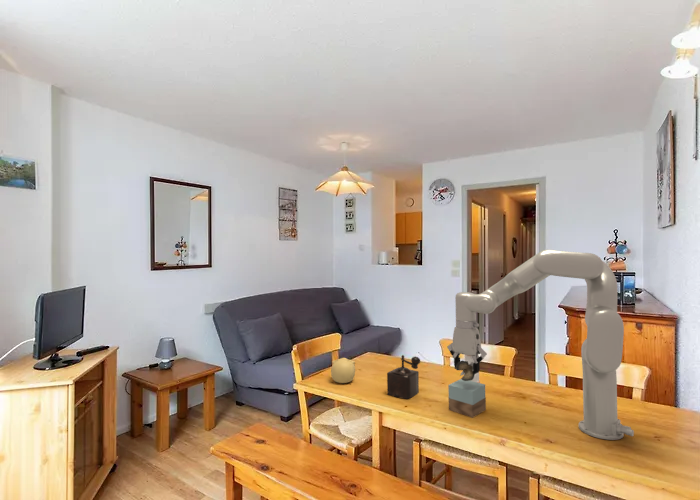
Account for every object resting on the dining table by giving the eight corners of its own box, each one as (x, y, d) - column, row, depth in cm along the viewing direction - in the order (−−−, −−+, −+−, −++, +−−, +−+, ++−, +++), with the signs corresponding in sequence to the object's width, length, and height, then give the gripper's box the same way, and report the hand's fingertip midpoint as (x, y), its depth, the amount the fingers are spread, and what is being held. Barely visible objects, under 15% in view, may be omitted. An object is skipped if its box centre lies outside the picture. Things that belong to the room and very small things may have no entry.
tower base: (485, 410, 146) (485, 397, 146) (472, 418, 139) (472, 404, 139) (462, 403, 153) (462, 390, 153) (448, 410, 147) (448, 397, 147)
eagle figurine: (453, 369, 150) (450, 371, 142) (464, 354, 149) (461, 356, 141) (470, 382, 147) (468, 385, 139) (481, 367, 146) (479, 369, 138)
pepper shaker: (459, 388, 169) (459, 345, 169) (468, 384, 174) (467, 342, 174) (474, 392, 164) (473, 348, 164) (483, 388, 168) (482, 345, 169)
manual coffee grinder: (385, 395, 163) (384, 353, 163) (398, 387, 172) (397, 347, 172) (418, 403, 153) (417, 358, 154) (430, 394, 162) (429, 352, 162)
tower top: (485, 397, 146) (485, 384, 146) (472, 405, 139) (472, 391, 139) (461, 391, 153) (461, 378, 153) (448, 398, 146) (448, 385, 146)
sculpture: (356, 377, 187) (356, 355, 187) (353, 385, 175) (352, 362, 175) (333, 376, 188) (333, 354, 188) (329, 385, 176) (328, 361, 177)
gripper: (492, 326, 142) (492, 373, 142) (451, 320, 155) (452, 363, 155) (481, 329, 137) (482, 378, 137) (441, 323, 150) (441, 367, 150)
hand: (466, 370), depth 146 cm, fingers closed on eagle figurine, 7 cm apart
